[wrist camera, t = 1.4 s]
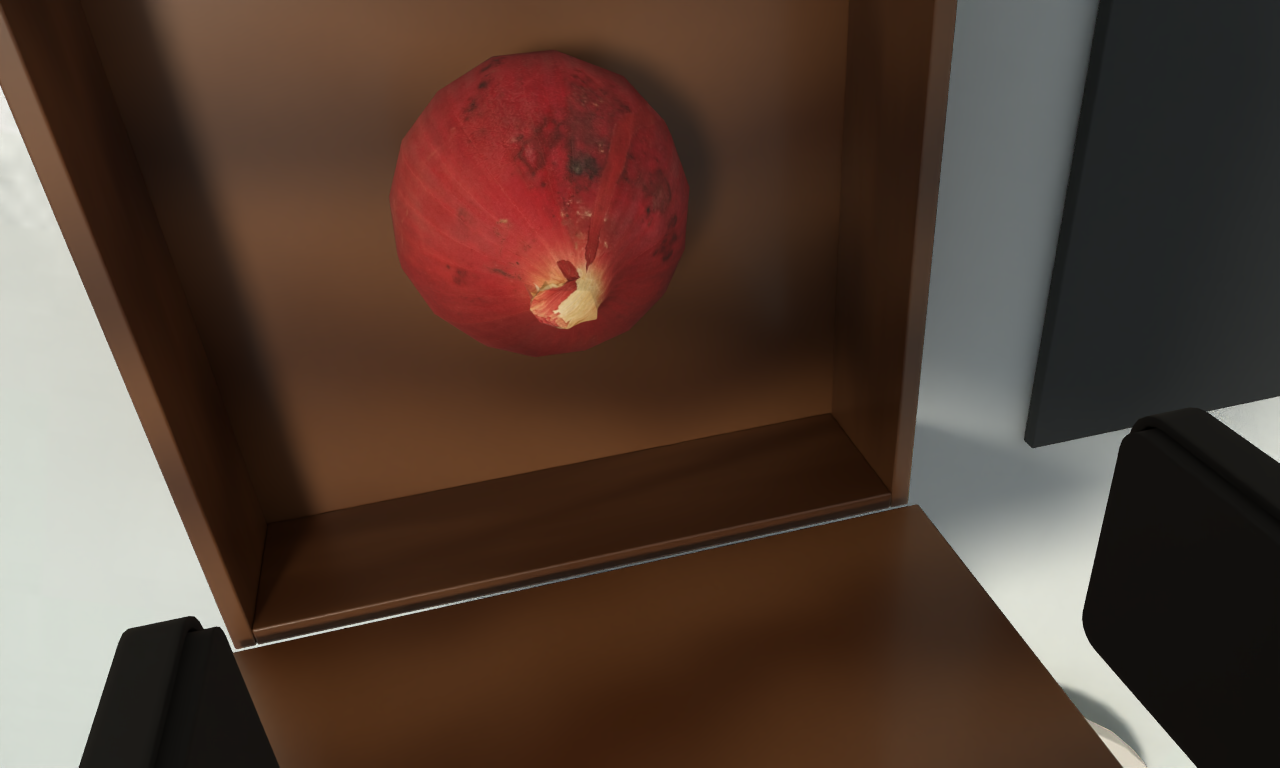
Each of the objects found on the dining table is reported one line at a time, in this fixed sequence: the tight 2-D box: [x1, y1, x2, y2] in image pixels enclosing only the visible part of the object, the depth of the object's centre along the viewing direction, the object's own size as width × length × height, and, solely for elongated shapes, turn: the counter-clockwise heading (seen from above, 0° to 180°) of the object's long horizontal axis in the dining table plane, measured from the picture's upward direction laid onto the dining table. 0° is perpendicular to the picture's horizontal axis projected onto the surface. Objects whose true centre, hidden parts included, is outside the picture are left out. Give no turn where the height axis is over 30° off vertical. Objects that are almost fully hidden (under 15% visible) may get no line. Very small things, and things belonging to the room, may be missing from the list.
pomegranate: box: [389, 50, 690, 357], centre depth 19 cm, size 6×6×8 cm
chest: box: [0, 0, 957, 649], centre depth 21 cm, size 19×17×4 cm
